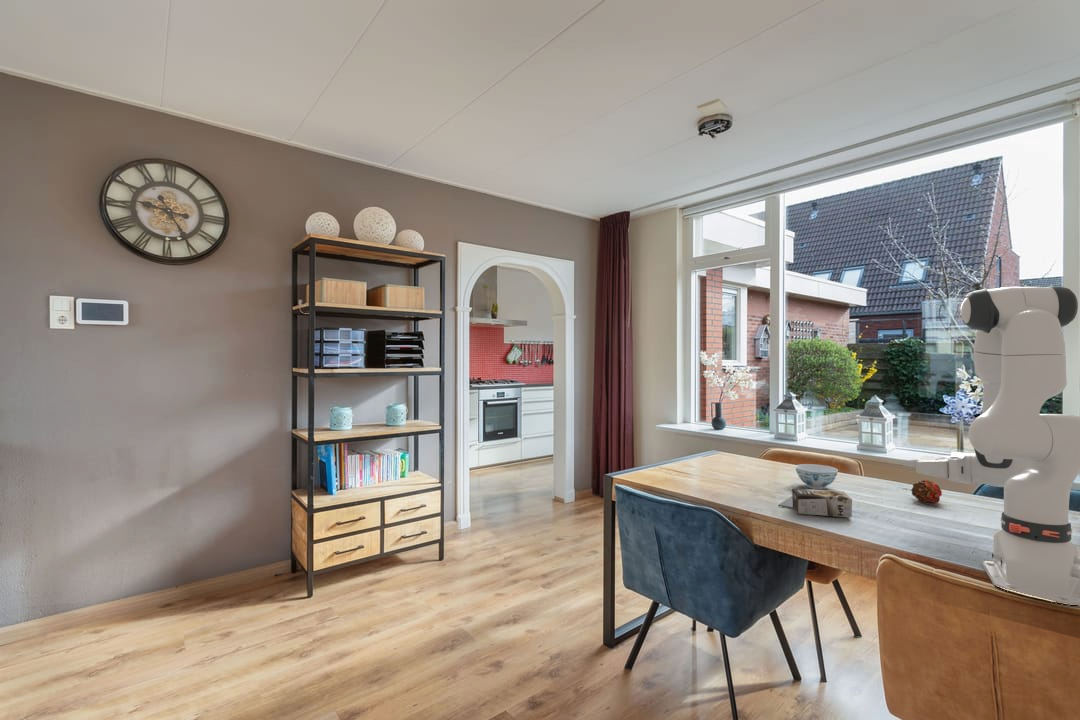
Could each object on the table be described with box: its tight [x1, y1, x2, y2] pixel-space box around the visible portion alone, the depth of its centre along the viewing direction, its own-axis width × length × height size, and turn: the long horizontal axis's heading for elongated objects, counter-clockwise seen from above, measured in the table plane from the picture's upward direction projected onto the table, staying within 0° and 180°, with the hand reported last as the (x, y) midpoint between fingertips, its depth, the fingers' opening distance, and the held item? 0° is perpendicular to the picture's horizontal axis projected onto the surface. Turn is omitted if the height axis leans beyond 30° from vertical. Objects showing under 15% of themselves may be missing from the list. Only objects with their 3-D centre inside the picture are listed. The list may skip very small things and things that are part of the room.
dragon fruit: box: [910, 479, 943, 504], centre depth 183 cm, size 8×8×12 cm
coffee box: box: [791, 488, 853, 518], centre depth 171 cm, size 9×6×16 cm
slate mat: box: [777, 495, 795, 510], centre depth 178 cm, size 14×17×1 cm
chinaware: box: [795, 463, 839, 490], centre depth 204 cm, size 15×15×8 cm
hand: (902, 462), depth 160 cm, fingers closed
